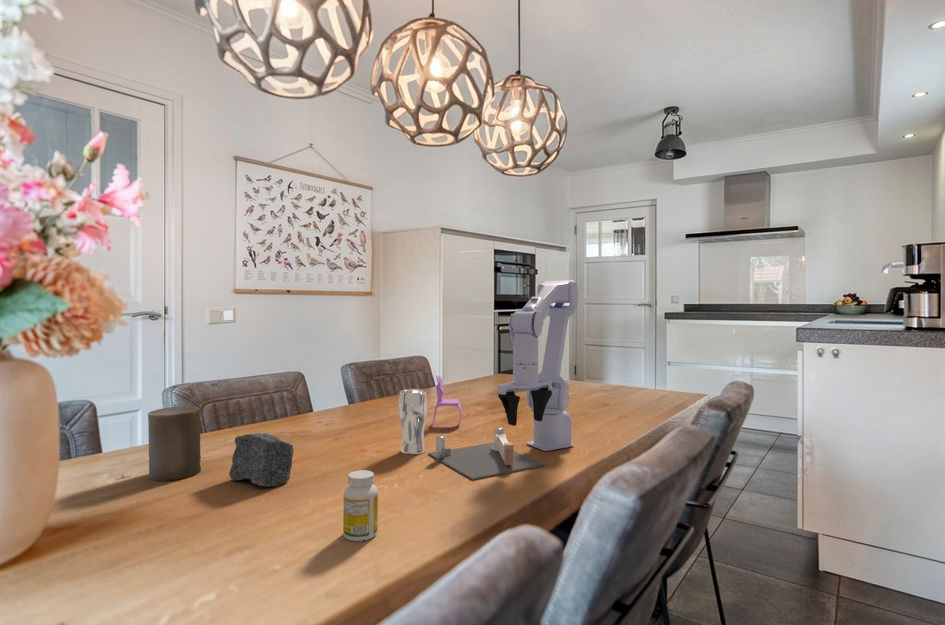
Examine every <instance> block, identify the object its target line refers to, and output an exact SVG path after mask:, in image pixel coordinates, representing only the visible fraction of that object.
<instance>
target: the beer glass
mask: <svg viewBox="0 0 945 625" xmlns="http://www.w3.org/2000/svg"><path fill="white" fill-rule="evenodd" d="M398 398H399V399H398V401H399V402H398V416H399V417H398V418H399V424H400V428H401V437H402V438H401V444H400V453H401V454H403V455H408V454H409V456H413V455H415V454H416V455H420V454H424V453H425V452H426V445H425V437H424V436H425V428H426V422H427V417H428V416H427V415H428V397H427V390H426V389H421V388H408V389H407V388H406V389H402V390H399V397H398Z"/></svg>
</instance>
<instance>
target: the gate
mask: <svg viewBox="0 0 945 625" xmlns="http://www.w3.org/2000/svg"><path fill="white" fill-rule="evenodd" d="M507 438H508V436H507V435H506V433H504V434H495V449H496V450H497V451H499V453H500V455H501V457H502V459H503V461H504V463H505V465H513V460H514V451H515V450H514V443H513V442H509V440H508V439H507Z"/></svg>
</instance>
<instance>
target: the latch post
mask: <svg viewBox="0 0 945 625" xmlns="http://www.w3.org/2000/svg"><path fill="white" fill-rule="evenodd" d="M445 438H446V436H445V435H437V436H436V437H435V452H436V459H435V461H436V462H439V463H440V460H443V459H445V456H448V455H451V449H452V448H450V447H446V442H445V441H446V439H445Z"/></svg>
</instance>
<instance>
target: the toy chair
mask: <svg viewBox="0 0 945 625" xmlns="http://www.w3.org/2000/svg"><path fill="white" fill-rule="evenodd" d="M435 378H436V382H437V384H436V385H435V388H436V394H437V396H436V397H437V402H436V405H435V408H434V414H433V418H432V419H433V420H432V422H431V427H434V424H435V422H436V421H435V420H436V415H437V409H438V407H446V406H447V407H457V408H458V410H459V421H458V425H457V428H458V429H460V425H461V422H462V421H461V419H462V405H461V402H460V398H459V399H458V398H455V399H454V398H453V399H449V398H448V399H446V398H443V395H444V391H445V388H444V384H443V379H442V377H441V376H440V375H436V376H435Z"/></svg>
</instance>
